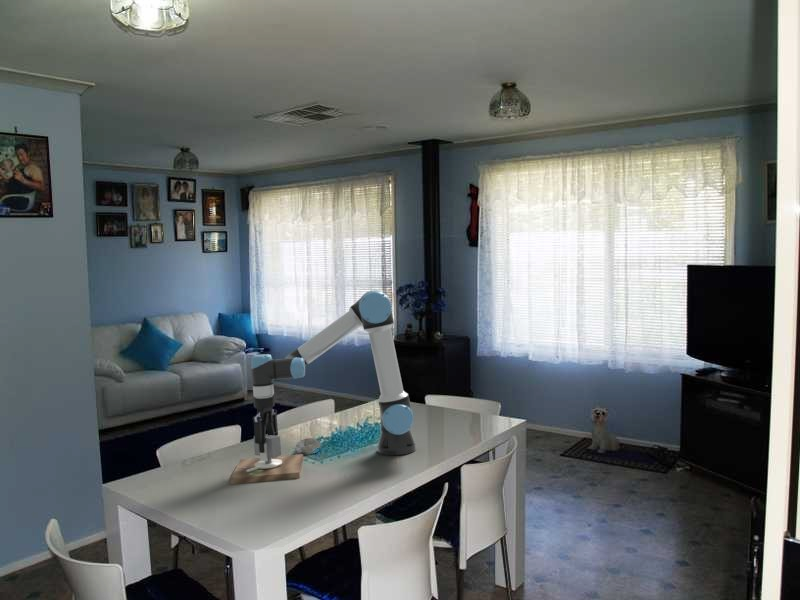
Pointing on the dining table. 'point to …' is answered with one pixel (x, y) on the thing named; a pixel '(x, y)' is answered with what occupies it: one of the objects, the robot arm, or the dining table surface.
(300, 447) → the fossilized seashell
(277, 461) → the tuning knob
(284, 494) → the dining table surface
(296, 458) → the dial board
